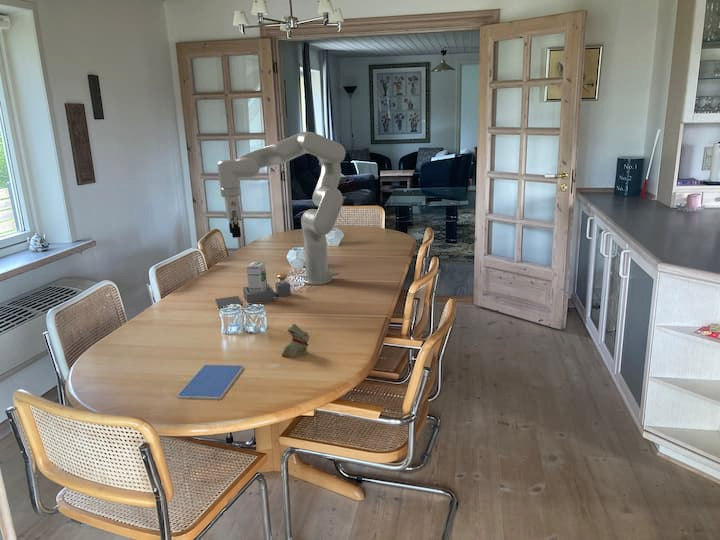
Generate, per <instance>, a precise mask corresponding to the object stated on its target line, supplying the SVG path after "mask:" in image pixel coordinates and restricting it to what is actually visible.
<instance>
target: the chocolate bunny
mask: <svg viewBox="0 0 720 540" xmlns="http://www.w3.org/2000/svg"><path fill="white" fill-rule="evenodd" d="M287 333H289V334H290V335H291V337H292V338H291V339H292V340H291V341H289V342H287V343H286V345H285V346H284V348H283V350H282V352H281V357H285V358H298V357H299V358H300V357H304V356H306V355H307V353H308V350H307V348H308V347H309V343H308V341H309V339H310V335H309V333H308V332H307V331H305V330H302V329H301V328H300V327H299V326H298V325H297V324H296V323H292V324H291V326H290V327H288V329H287Z"/></svg>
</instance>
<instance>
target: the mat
mask: <svg viewBox="0 0 720 540" xmlns="http://www.w3.org/2000/svg"><path fill="white" fill-rule="evenodd" d="M215 302H217V303H216V306H217V305H218V306H217V308H218V309H221V308H220V307H223V306H226V305H230V304H241V306H243V304H242V301H241V299H240V297H239V295H234V296H226V297H220V298H215Z"/></svg>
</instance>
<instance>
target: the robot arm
mask: <svg viewBox="0 0 720 540" xmlns="http://www.w3.org/2000/svg"><path fill="white" fill-rule="evenodd" d="M305 154H310V155H312V156H314V157H317V160H318V161H319V163H320V166H321V167H320V168H321V170H320V175H319V178H318V180H317V183H316V185H315V188H314V191H313V194H312V198H311V199H312V202H313V204H314V205H315V206H316V207H318V208H317V209H315V208H310V209H307V210H306V211H304V212H303V214H302V215H301V218H300V225H301V230H302V233H303V234H302V235H303V244H304V260H305V275H306V276H305V277H304V278H303V279H304V280H305V283H306V284H305V283H304V284H305V285H308V286H309V285H310V286H319V285H325V284H329V283H331V282H332V280H333V278H332V277H333V276H339V275H340V272H339V270H329V269H328V268H329V267H328V248H327V245H328V244H327V243H328V242H327V237H326V235H328V234H330V233H331V231H332V230H333V228H334V227H335V225H336V222H337V219H338V217H339V214H340V212H341V210H342V206H343V201H344V199H343V198H344V197H343V194H342V192H341V191H340V190H339V189H338V187H339V183H340V180H341V177H342V168H341V163H342V162H343V161H344V160H345V157H346V150H345V147H344V146H343V145H342V144H341V143H340V142H337V141H335V140H332V139H330V138H327V137H326V136H323V135H321V134H318V133H316V132H313V131H301V132H297V133H296V134H292V135H291V136H288V137H287V138H284V139H282V140H279V141H277V142H275V143H272V144H269V145H266V146H265V147H262V148H259V149H255V150H253V151H251V152H247V153H246V154H244V155H241V156H240V157H237V158H236V159H223V160H219V161H218V162H217V171H218V178H219V188H220V195H221V198H224V205H225V212H226V217H227V220H228V225H229V226H228V227H229V233H230V234H231V235H232V238H233V239H237V238H242V237H241V236H242V232H241V227H240V222H242V221H243V219H242V211H241V203H240V196H241V195H242V194H241V186H240V178H241V179H242V178H245V179H246V178H247V179H248V178H249V179H251V178H254V177H256V176H258V174H259V172H260V169H262V168H266V167H270V166H279V165H282V164H285V163H287V162H289V161H292V160H294V159H295V158H298V157H301V156H303V155H305Z"/></svg>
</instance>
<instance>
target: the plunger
mask: <svg viewBox="0 0 720 540" xmlns="http://www.w3.org/2000/svg"><path fill="white" fill-rule="evenodd" d="M276 278H277V279H279V282H280V285H281V284H285V281H286V279H287V278H288V274H287V273H278V274H276Z"/></svg>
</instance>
